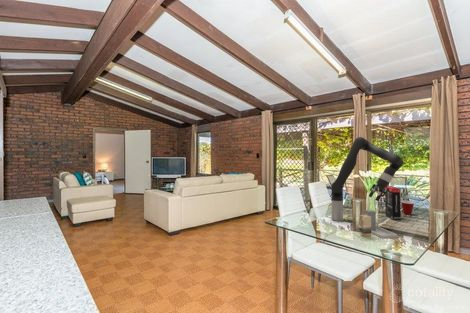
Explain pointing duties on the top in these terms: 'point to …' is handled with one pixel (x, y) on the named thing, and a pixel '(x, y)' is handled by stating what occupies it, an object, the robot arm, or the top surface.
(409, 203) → the plastic cup
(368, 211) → the slate box
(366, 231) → the banded wooden block
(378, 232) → the parts tray
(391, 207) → the graphics card box
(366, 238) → the pad
